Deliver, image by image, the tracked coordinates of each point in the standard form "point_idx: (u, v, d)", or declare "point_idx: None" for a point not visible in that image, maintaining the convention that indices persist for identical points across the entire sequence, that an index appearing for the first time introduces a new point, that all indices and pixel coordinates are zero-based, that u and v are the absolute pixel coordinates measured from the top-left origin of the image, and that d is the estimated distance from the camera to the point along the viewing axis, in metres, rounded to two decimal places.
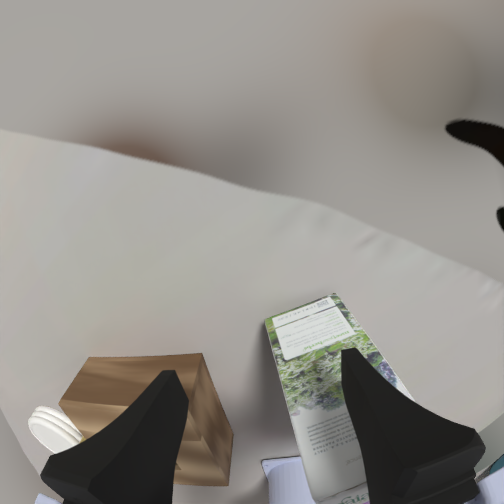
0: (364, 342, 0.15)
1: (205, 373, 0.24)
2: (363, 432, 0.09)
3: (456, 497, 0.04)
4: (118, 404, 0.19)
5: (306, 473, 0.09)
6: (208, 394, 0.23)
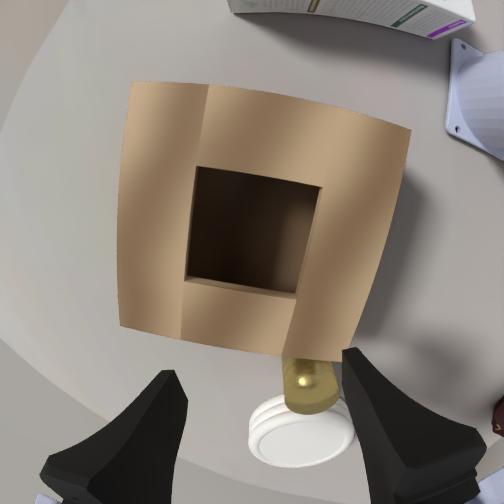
0: None
1: None
2: (364, 432, 0.09)
3: (457, 496, 0.04)
4: None
5: (457, 13, 0.09)
6: None
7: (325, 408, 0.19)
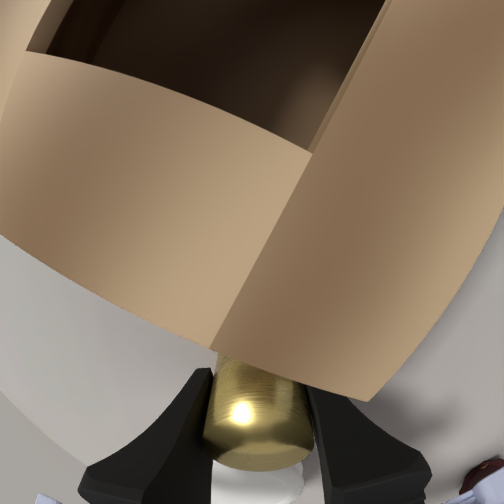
0: None
1: None
2: (318, 441, 0.09)
3: None
4: None
5: None
6: None
7: (276, 467, 0.09)
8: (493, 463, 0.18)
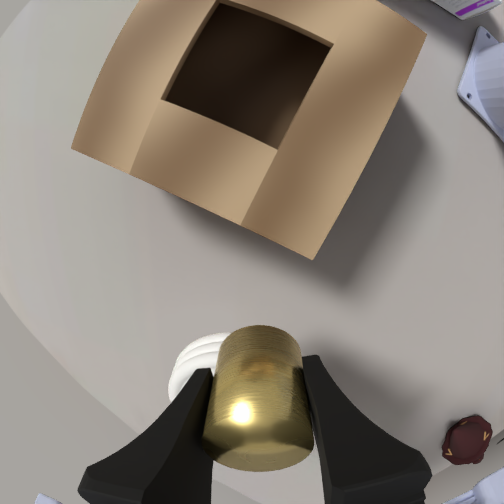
0: None
1: None
2: (318, 441, 0.09)
3: None
4: None
5: None
6: None
7: (276, 467, 0.09)
8: (471, 420, 0.26)
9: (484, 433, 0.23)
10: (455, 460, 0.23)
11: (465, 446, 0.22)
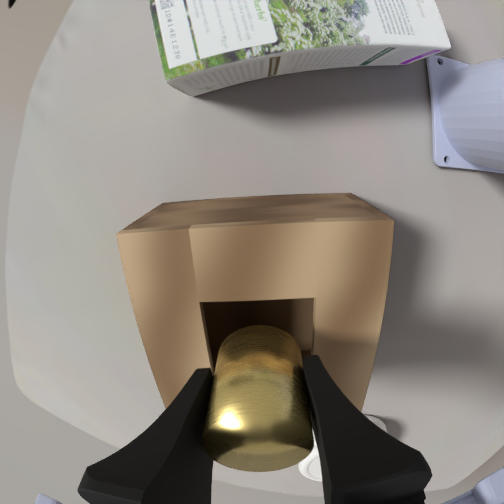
0: None
1: (182, 203, 0.18)
2: (318, 441, 0.09)
3: None
4: None
5: (429, 46, 0.10)
6: (203, 205, 0.17)
7: (276, 467, 0.09)
8: None
9: None
10: None
11: None
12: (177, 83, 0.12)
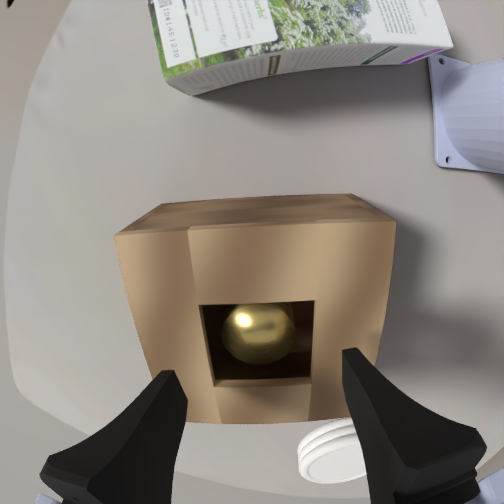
0: None
1: (181, 204, 0.18)
2: (364, 432, 0.08)
3: (457, 496, 0.04)
4: None
5: (431, 45, 0.10)
6: (203, 206, 0.17)
7: (271, 359, 0.16)
8: None
9: None
10: None
11: None
12: (176, 82, 0.12)
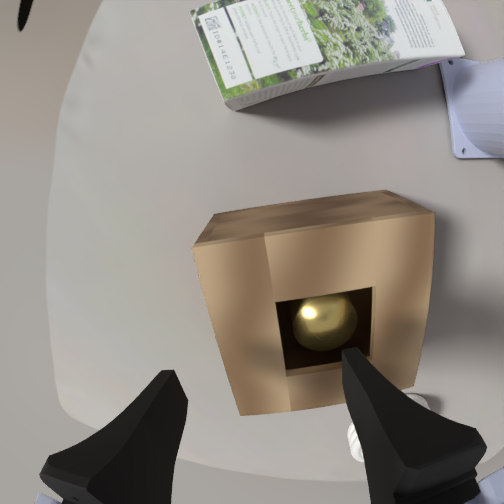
0: None
1: (236, 213, 0.19)
2: (364, 432, 0.08)
3: (457, 496, 0.04)
4: None
5: (447, 55, 0.11)
6: (259, 213, 0.18)
7: (337, 344, 0.17)
8: None
9: None
10: None
11: None
12: (232, 101, 0.13)
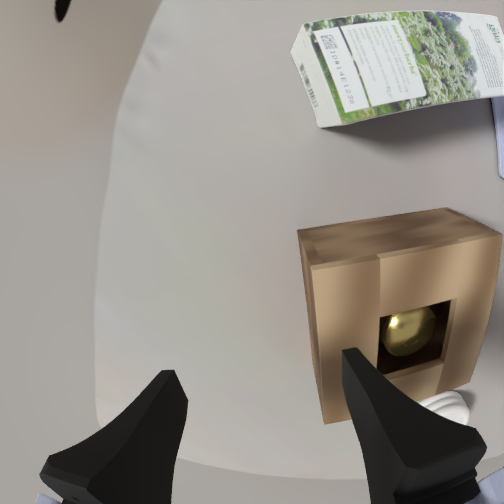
0: (411, 17, 0.10)
1: (322, 229, 0.19)
2: (364, 432, 0.09)
3: (457, 496, 0.04)
4: (319, 353, 0.17)
5: None
6: (348, 231, 0.18)
7: (418, 348, 0.17)
8: None
9: None
10: None
11: None
12: None
